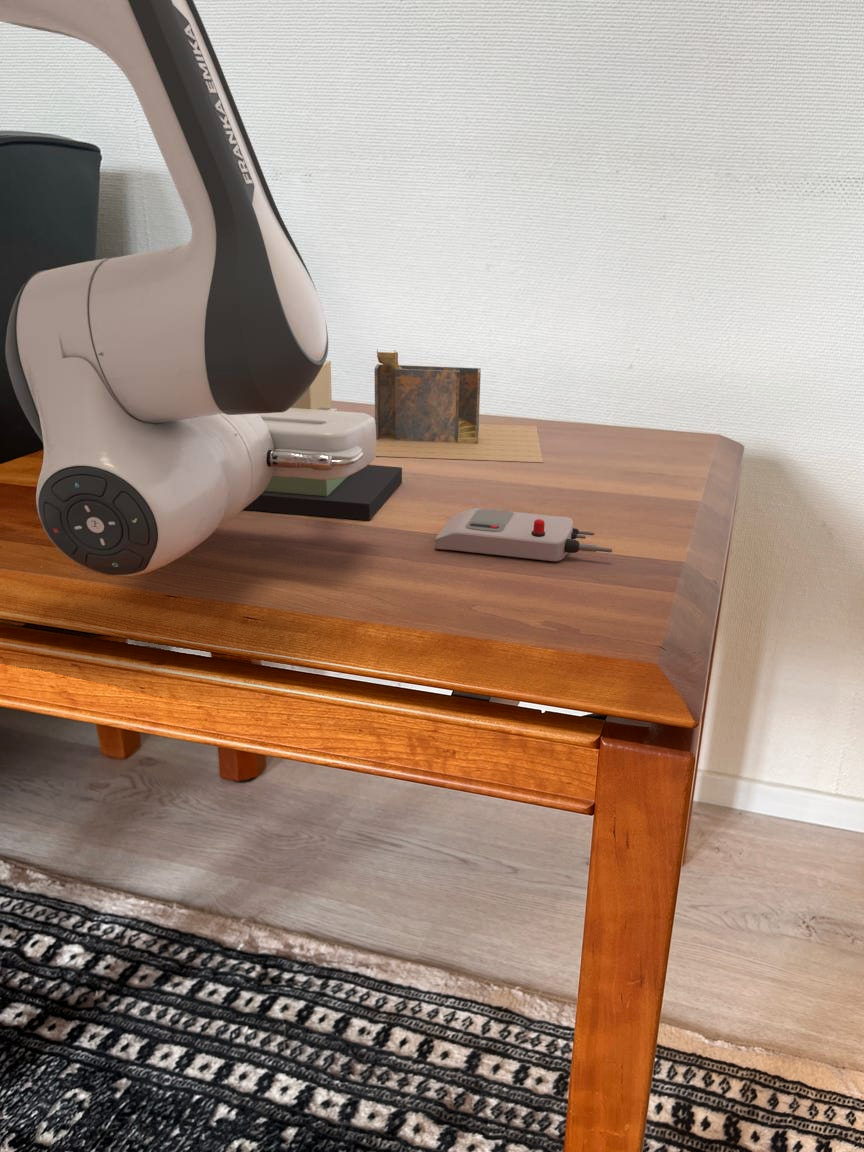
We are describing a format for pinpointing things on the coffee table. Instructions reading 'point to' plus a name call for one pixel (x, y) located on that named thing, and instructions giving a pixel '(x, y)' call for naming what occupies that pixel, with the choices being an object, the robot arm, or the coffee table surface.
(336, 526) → the coffee table surface
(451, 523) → the grey electronic control box
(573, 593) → the coffee table surface
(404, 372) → the architectural model on board
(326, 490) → the base pad
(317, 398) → the tall beige rectangular block
